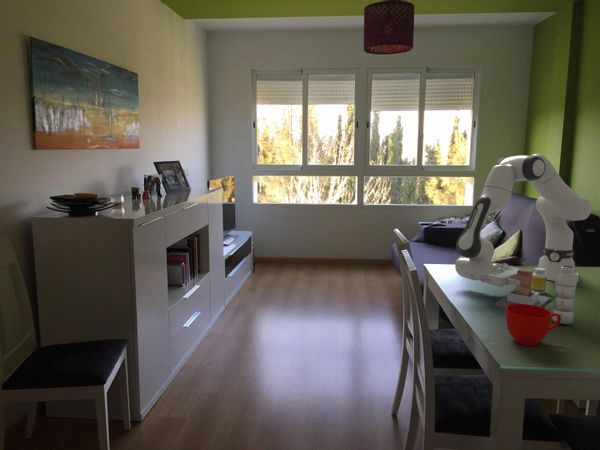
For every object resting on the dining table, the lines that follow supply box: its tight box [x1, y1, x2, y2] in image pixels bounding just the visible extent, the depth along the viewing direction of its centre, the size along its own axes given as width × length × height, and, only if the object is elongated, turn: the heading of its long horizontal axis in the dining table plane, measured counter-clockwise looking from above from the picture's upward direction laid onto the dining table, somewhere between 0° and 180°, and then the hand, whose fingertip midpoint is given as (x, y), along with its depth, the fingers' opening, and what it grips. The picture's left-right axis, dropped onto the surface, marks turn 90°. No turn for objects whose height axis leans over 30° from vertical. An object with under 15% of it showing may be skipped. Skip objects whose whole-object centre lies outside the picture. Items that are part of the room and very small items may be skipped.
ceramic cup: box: [505, 304, 561, 346], centre depth 151 cm, size 13×17×10 cm
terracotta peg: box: [515, 268, 534, 297], centre depth 189 cm, size 4×4×12 cm
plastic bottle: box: [551, 265, 578, 325], centre depth 167 cm, size 6×7×20 cm
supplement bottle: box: [531, 267, 547, 294], centre depth 205 cm, size 5×5×10 cm
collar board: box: [493, 288, 551, 310], centre depth 189 cm, size 24×14×4 cm, turn 139°
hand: (526, 281), depth 187 cm, fingers open, 8 cm apart
